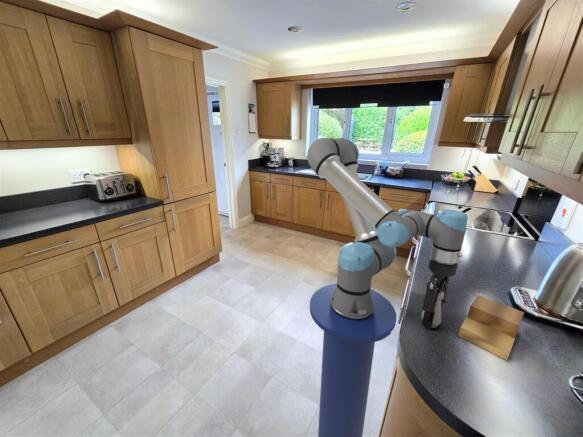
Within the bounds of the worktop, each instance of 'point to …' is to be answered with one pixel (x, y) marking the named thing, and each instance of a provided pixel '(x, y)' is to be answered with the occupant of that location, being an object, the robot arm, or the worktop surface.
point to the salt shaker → (437, 311)
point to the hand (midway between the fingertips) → (430, 321)
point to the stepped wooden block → (491, 326)
